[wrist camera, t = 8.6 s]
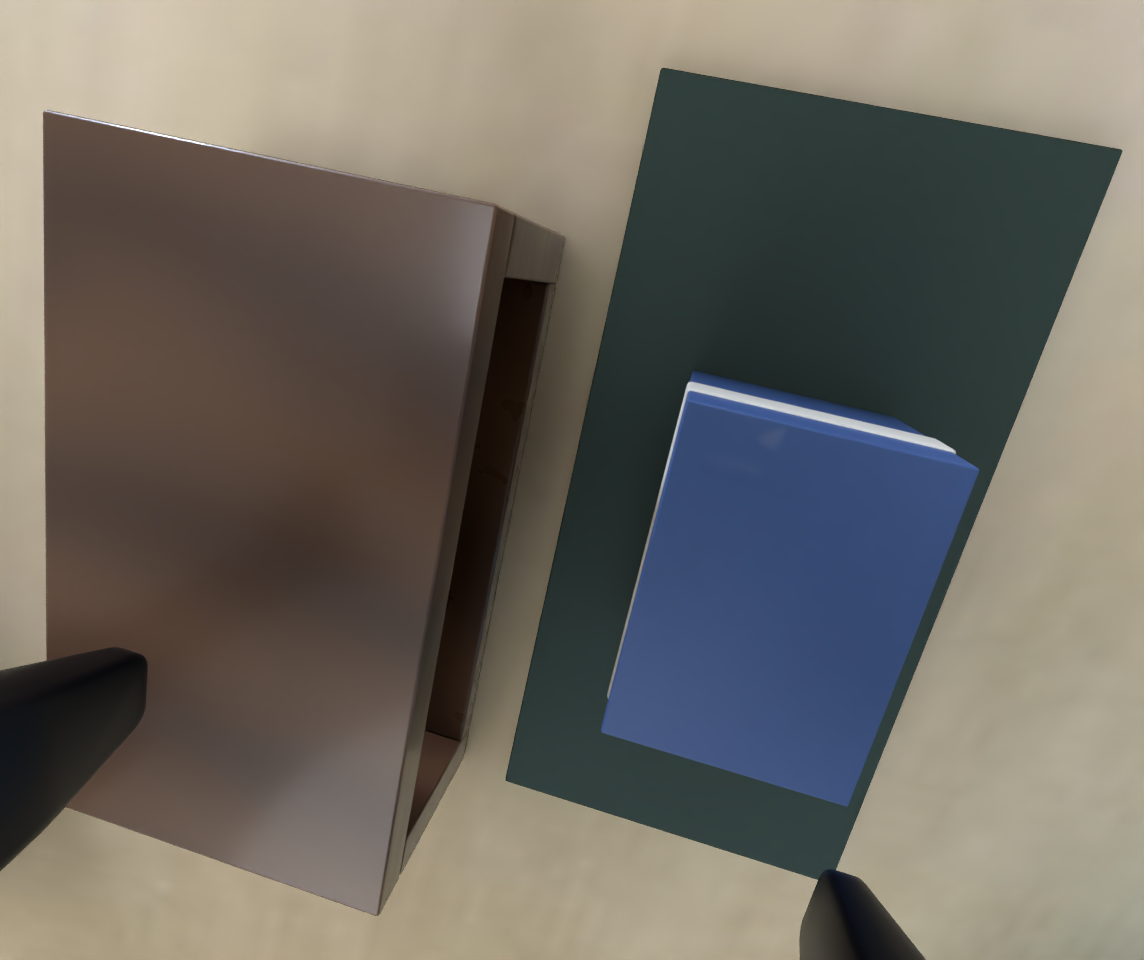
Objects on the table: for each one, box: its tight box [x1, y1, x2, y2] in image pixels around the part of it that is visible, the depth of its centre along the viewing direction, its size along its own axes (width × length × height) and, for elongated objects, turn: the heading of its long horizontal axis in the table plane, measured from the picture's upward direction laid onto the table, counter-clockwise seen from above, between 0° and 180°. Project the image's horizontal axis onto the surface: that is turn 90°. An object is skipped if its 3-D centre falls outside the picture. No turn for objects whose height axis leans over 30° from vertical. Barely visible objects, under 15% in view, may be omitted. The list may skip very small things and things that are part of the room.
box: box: [601, 371, 979, 806], centre depth 15 cm, size 7×5×6 cm
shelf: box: [43, 110, 565, 916], centre depth 18 cm, size 16×9×6 cm, turn 168°
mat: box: [506, 68, 1122, 880], centre depth 18 cm, size 20×10×1 cm, turn 168°
